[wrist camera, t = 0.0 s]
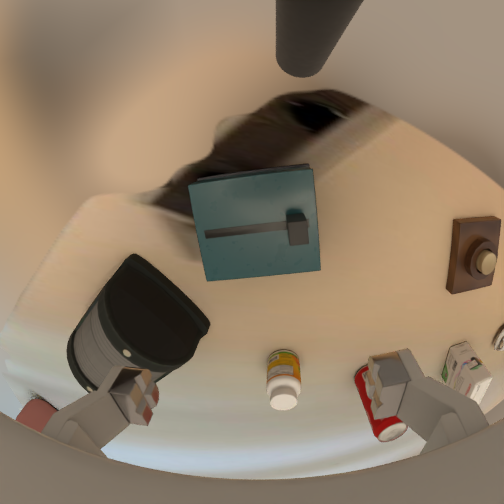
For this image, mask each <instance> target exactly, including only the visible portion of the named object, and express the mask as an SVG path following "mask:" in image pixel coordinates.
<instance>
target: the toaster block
mask: <svg viewBox="0 0 504 504" xmlns="http://www.w3.org/2000/svg"><path fill="white" fill-rule="evenodd" d="M188 189H189V194H190V200H191V205H192V211H193V216H194V221H195V227H196V232H197V237H198V242H199V247H200V252H201V256H202V261H203V266H204V271H205V275H206V280H207V281H217V280H229V279H240V278H251V277H261V276H271V275H281V274H291V273H301V272H310V271H319V270H321V266H320V249H319V234H318V220H317V208H316V197H315V187H314V177H313V169H311V168H310V167H309V164H299V165H289V166H280V167H271V168H263V169H255V170H247V171H240V172H233V173H226V174H220V175H214V176H207V177H201V178H197V182H195V183H192V184H190V185H188ZM299 213H304V215H305V217H306V219H307V223H308V235H309V244H304V245H294V246H290V244H289V237H288V229H287V220H286V215H290V214H299Z"/></svg>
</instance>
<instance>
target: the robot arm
mask: <svg viewBox="0 0 504 504" xmlns="http://www.w3.org/2000/svg"><path fill="white" fill-rule="evenodd" d="M367 365H368V368H369V371H368V372H367V373H366V379H365V384H366V392H367V396H368V398H370V399H371V400H372V402H371V409H372V413H373V416H374V420H376V419H382V418H387V417H391V416H396V415H397V417H398V418H399V419H400V420H401V421H403V422H404V423H405V424H406V425H407V426H409V427H410V428H411V429H412V430H413V431H414V432H416V433H417V434H418V435H419V436H421V437H422V438H423V439H424V440H425V441H427V443H426V444H425V446H424V448H423V449H422V451H421V453H420V454H419V455H417V456H413V457H410V458H407V459H403V460H400V461H396V462H392V463H389V464H385V465H380V466H376V467H372V468H367V469H362V470H357V471H351V472H346V473H339V474H332V475H325V476H316V477H306V478H293V479H268V480H249V479H224V478H211V477H200V476H192V475H184V474H177V473H171V472H165V471H160V470H154V469H149V468H145V467H140V466H136V465H132V464H128V463H124V462H120V461H116V460H113V459H109V458H107V456H106V455H105V454H104V453H103V452H102V451H101V450H100V449H101V448H102V447H104V446H105V445H106V444H107V443H108V442H110V441H111V440H112V439H113V438H114V437H116V436H117V435H118V434H119V433H120V432H122V431H123V430H124V429H125V428H126V427H127V426H129V425H130V424H137V425H145V426H148V424H149V422H150V420H151V417H152V415H153V412H152V410H151V409H152V408H154V407H155V406H157V403H158V400H159V391H158V387H157V385H156V383H154V382H153V381H152V380H151V377H152V375H151V373H150V371H149V370H148V369H146V368H136V367H127V366H125V367H124V366H117V365H116V366H114V367H112V369H111V370H110V372H109V373H108V375H107V376H106V378H105V379H104V381H103V382H102V384H101V385H100V387H99V388H98V390H97V391H92V392H91V393H89V394H87V395H85V396H84V397H82V398H80V399H78V400H77V401H75V402H73V403H71V404H70V405H68V406H66V407H64V408H62V409H61V410H59V411H57V412H55V413H54V414H53V415H52V416H51V418H50V419H49V421H48V422H47V424H46V425H45V427H44V428H43V430H42V431H41V433H40V432H38V431H36V430H34V429H32V428H30V427H28V426H26V425H24V424H22V423H20V422H18V421H16V420H14V419H12V418H10V417H9V416H7V415H5V414H3V413H2V412H0V504H504V418H503V419H501V420H499V421H497V422H496V423H494V424H492V425H490V426H489V424H488V422H487V420H486V418H485V416H484V414H483V413H482V411H481V409H480V407H479V405H478V404H477V402H476V401H474V400H472V399H471V398H469V397H467V396H465V395H463V394H461V393H459V392H457V391H455V390H453V389H451V388H450V387H448V386H446V385H444V384H442V383H440V382H438V381H436V380H434V379H433V378H431V377H429V376H428V377H425V376H424V374H423V372H422V371H421V369H420V367H419V365H418V363H417V361H416V360H415V358H414V356H413V354H412V353H411V351H410V350H409V349H408V348H407V349H403V350H399V351H395V352H390V353H385V354H380V355H375V356H370V357H369V359H368V364H367ZM129 423H130V424H129Z"/></svg>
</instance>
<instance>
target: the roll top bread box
mask: <svg viewBox="0 0 504 504" xmlns="http://www.w3.org/2000/svg"><path fill="white" fill-rule="evenodd" d="M209 326H210V322H209V320H208V319H207V318H206V316H205V315H204V314H203V313H202V312H201V311H200V310H199V308H198V307H197V306H196V305H195V304H194V303H193V302H192V301H191V300H190V299H189V298H188V297H187V296H186V295H185V294H184V293H183V292H182V291H181V290H180V289H178V288H177V287H176V286H175V285H174V284H173V283H172V282H171V281H170V280H169V279H167V278H166V277H165V276H164V275H163V274H162V273H161V272H160V271H158V270H157V269H156V268H155V267H153V266H152V265H151V264H150V263H149V262H147V261H146V260H144V259H143V258H141V257H140V256H138V255H137V254H132V255H130V256H129V257H128V258H126V259H125V261H124V262H123V263H122V265H121V266H120V267H119V269H118V270H117V271H116V272H115V274H114V275H113V276H112V278H111V279H110V280H109V281H108V282H107V283H106V285H105V286H104V287H103V289H102V290H101V292H100V293H99V294H98V296H97V297H96V299H95V300H94V301H93V303H92V304H91V306H90V307H89V309H88V310H87V312H86V313H85V314H84V316H83V317H82V319H81V320H80V322H79V323H78V325H77V326H76V328H75V329H74V331H73V333H72V334H71V336H70V338H69V341H68V344H67V359H68V363H69V366H70V369H71V371H72V373H73V375H74V377H75V378H76V380H77V381H78V382H79V384H80V385H81V386H82V387H83V388H84V389H85V390H86V391H87V392H88V393H91V392H92V391H97V390H98V388H99V387H100V385H101V384H102V382H103V381H104V379H105V378H106V376H107V375H108V373H109V372H110V370H111V369H112V367H114V366H116V365H117V366H124V367H125V366H127V367H136V368H146V369H148V370H149V371H150V373H151V375H152V377H151V380H152V381H153V382H154V383H156V382H158V381H159V380H161V379H162V378H164V377H165V376H166V375H168V374H169V373H171V372H172V371H173V370H175V369H177V368H179V367H181V366H182V365H183V364H185V363H186V362H188V361H189V360H190V359H191V358H192V357H193V355H194V353H195V350H196V348H197V345H198V343H199V341H200V339H201V338H202V337H203V336H204V335H206V334H207V332H208V329H209Z"/></svg>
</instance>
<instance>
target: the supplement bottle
mask: <svg viewBox="0 0 504 504" xmlns="http://www.w3.org/2000/svg"><path fill="white" fill-rule="evenodd" d="M266 391H267V393H268V395H269V396H270V404H271V406H272V407H273V408H275V409H277V410H289V409H292V408H293V407H295V406H296V404H297V396H298V395H299V393H300V391H301V377H300V364H299V358H298V356H297V355H296V354H295V353H294V352H292V351H288V350H280V351H276V352H274V353H273V354H271V355H270V357H269V358H268V363H267V383H266Z"/></svg>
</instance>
